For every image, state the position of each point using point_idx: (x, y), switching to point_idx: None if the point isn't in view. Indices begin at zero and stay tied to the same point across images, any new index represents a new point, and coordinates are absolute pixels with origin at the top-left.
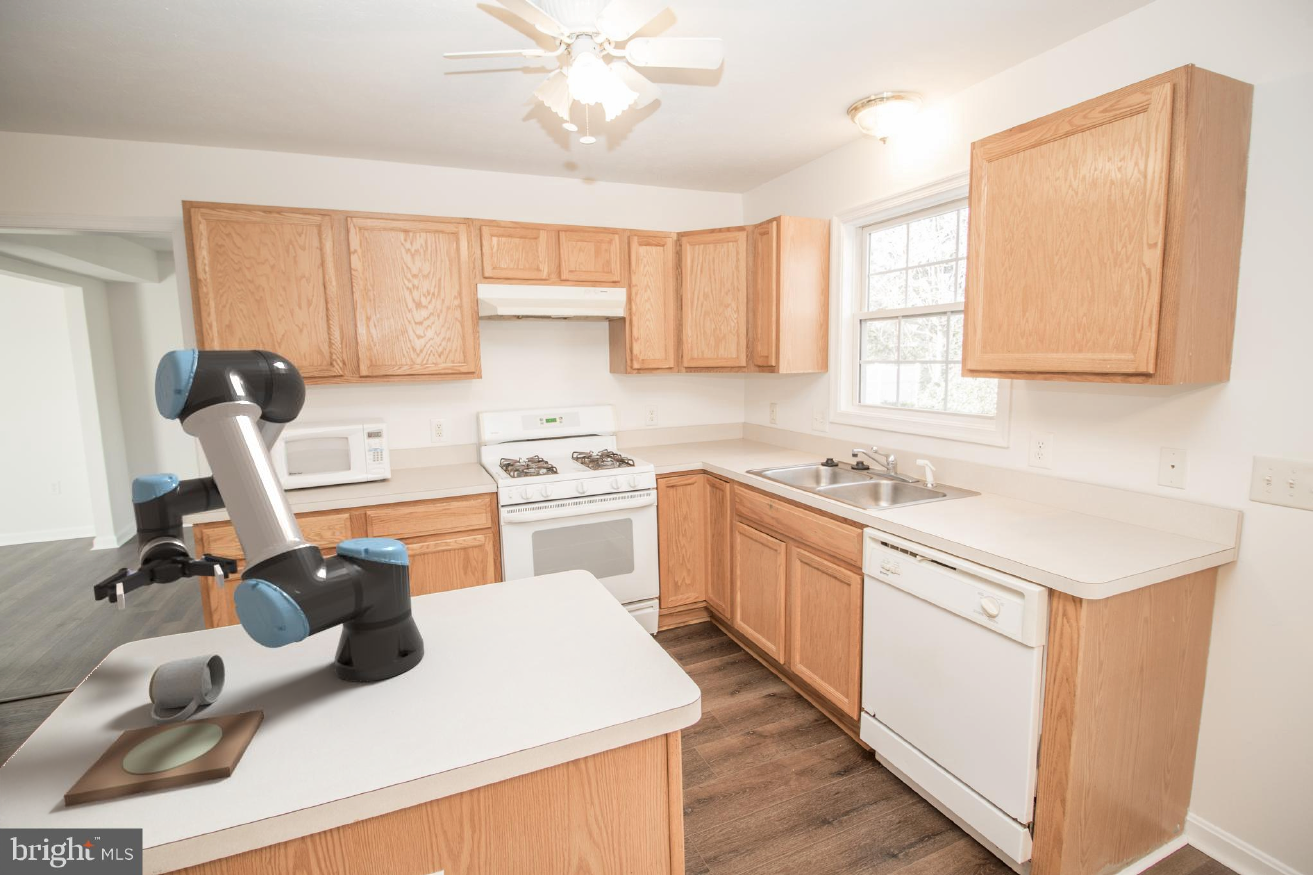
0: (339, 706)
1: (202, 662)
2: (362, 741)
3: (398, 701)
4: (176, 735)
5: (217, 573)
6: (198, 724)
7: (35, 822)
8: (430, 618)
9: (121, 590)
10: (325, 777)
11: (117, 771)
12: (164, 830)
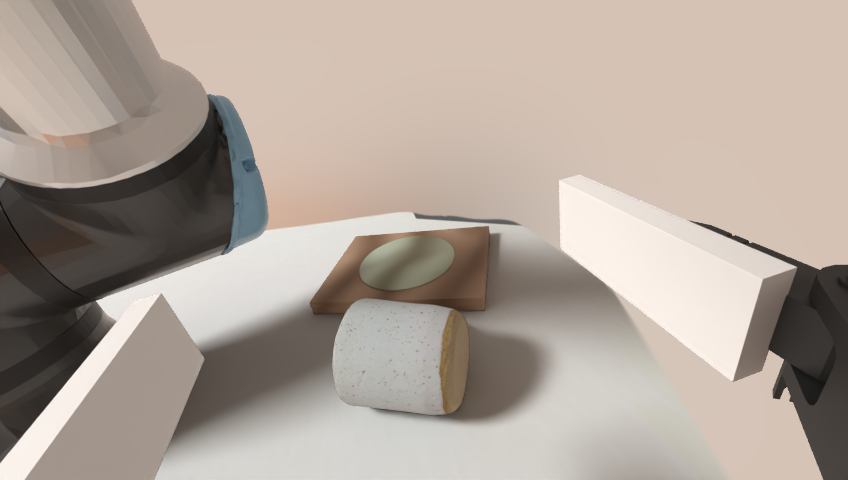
0: (231, 315)
1: (362, 301)
2: (251, 263)
3: (178, 308)
4: (408, 274)
5: (144, 323)
6: (385, 287)
7: (504, 227)
8: None
9: (602, 198)
10: (295, 237)
11: (453, 242)
12: (401, 216)
